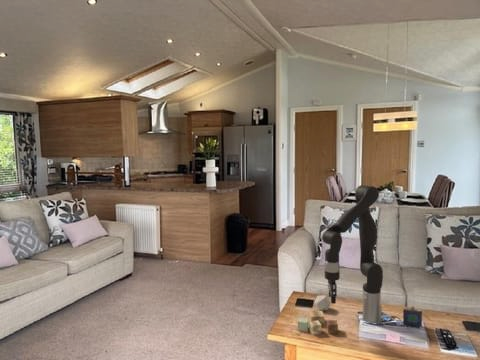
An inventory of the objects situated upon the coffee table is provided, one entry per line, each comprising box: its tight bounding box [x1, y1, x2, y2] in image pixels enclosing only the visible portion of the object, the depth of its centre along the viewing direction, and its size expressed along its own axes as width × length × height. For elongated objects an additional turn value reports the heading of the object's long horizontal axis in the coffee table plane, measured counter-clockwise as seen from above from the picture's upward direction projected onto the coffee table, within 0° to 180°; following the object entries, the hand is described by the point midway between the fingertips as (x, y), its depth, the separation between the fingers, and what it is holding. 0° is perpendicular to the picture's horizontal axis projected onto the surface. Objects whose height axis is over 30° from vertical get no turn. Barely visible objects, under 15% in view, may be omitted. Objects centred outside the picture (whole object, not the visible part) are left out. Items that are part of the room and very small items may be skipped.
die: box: [314, 295, 332, 312], centre depth 216 cm, size 8×9×10 cm
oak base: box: [309, 310, 325, 326], centre depth 201 cm, size 7×7×5 cm
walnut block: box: [326, 319, 339, 335], centre depth 191 cm, size 5×5×5 cm
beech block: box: [308, 320, 322, 336], centre depth 191 cm, size 5×5×5 cm
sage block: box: [297, 317, 309, 333], centre depth 194 cm, size 5×5×5 cm
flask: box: [402, 305, 423, 328], centre depth 194 cm, size 9×3×11 cm, turn 74°
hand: (332, 299), depth 189 cm, fingers open, 8 cm apart
